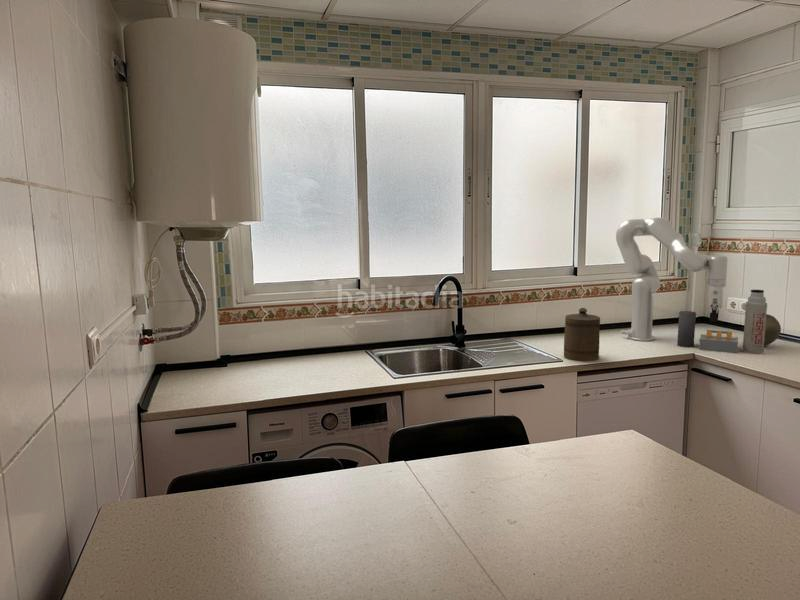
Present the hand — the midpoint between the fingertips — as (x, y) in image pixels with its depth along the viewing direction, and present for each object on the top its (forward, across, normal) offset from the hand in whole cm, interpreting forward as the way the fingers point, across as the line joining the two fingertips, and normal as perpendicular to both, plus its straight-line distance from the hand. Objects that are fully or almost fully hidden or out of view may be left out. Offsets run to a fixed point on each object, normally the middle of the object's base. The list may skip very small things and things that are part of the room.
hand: (713, 319), depth 259 cm
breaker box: (+13, 0, -2) cm, 14 cm away
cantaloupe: (+14, +14, -20) cm, 28 cm away
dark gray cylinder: (+13, 0, +11) cm, 17 cm away
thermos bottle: (+14, 0, -16) cm, 21 cm away
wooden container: (+14, -43, +49) cm, 67 cm away
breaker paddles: (+8, 0, -2) cm, 9 cm away
